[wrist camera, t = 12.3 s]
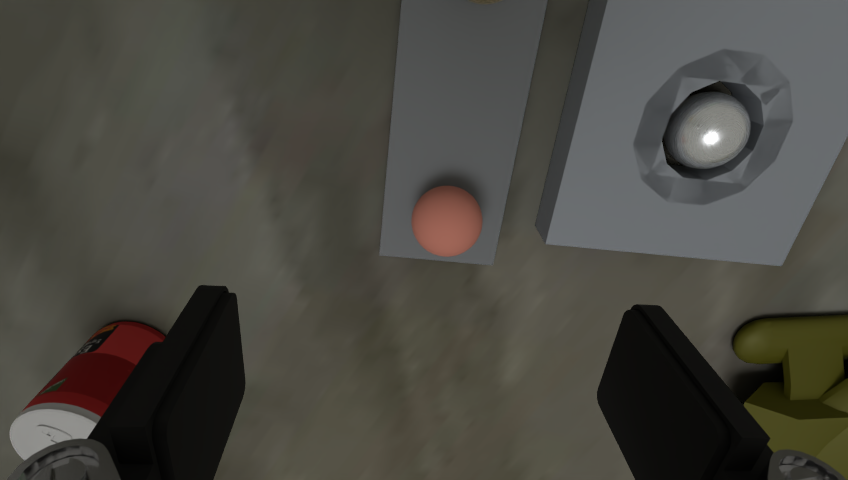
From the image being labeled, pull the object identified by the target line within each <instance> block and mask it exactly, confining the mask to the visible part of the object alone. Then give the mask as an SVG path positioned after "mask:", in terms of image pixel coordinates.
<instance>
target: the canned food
mask: <svg viewBox="0 0 848 480" xmlns="http://www.w3.org/2000/svg"><path fill="white" fill-rule="evenodd" d="M164 339H165V336H164V335H163V334H161V333H160V332H159V331H157V330H155V329H153V328H152V327H149V326H147V325H144V324H140V323H136V322H117V323H113V324H110V325H108V326H106V327H104V328H102V329H100V330H99V331H97V332H96V333H95V334H94V335H93V336H92V337H91V338H90V339H89V340H88V341H87V342H86V343H85V344H84V345H83V346H82V348H81V349H80V350H79V351H78V352H77V353H76V354H75V355H74V356H73V357H72V358H71V359H70V360H69V361H68V362H67V363H66V364H65V366H64V367H63V368H62V369H61V370H60V371H59V372H58V373H57V374H56V375H55V376H54V377H53V378H52V379H51V380H50V381H49V383H48V384H47V385H46V386H45V387H44V388H43V389H42V390H41V391H40V392H39V393H38V394H37V395H36V396H35V397H34V398H33V399H32V401H31V402H30V403H29V404H28V405H27V406H26V407H25V408H24V410H23V411H22V412H21V413H20V414H19V415H18V417H17V418H16V420H15V421H14V422H13V424H12V425H11V429H10V440H11V443H12V445H13V447H14V449H15V450H16V452H17V453H18V454H19V455H20V456H21V457H22V458H23V459H24V460H26V459H28V458H29V457H30V456H31V455H33V454H35V453H36V452H38V451H40V450H42V449H44V448H46V447H48V446H50V445H53V444H56V443H59V442H62V441H65V440H72V439H78V438H82V439H87V438H88V436H89V435H90V433H91V432H92V430H93V429H94V427H95V426H96V424H97V423H98V421H99V420H100V418H101V417H102V415H103V414H104V412H105V411H106V409H107V408H108V406H109V405H110V403H111V402H112V400H113V399H114V397H115V396H116V394H117V393H118V392H119V390H120V389H121V387H122V386H123V384H124V383H125V381H126V380H127V378H128V377H129V375H130V374H131V372H132V371H133V369H134V368H135V366H136V365H137V363H138V362H139V360H140V359H141V357H142V356H143V354H144V353H145V351H146V350H147V348H148V347H149V346H150V345H151V344H152V343H154V342H163V341H164Z"/></svg>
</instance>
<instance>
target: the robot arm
mask: <svg viewBox="0 0 848 480" xmlns="http://www.w3.org/2000/svg"><path fill="white" fill-rule="evenodd" d="M244 391H245V373H244V363H243V354H242V344H241V334H240V325H239V315H238V305H237V297H236V294H235V293H229V292H228V289H227V287H226V286H207V285H200V286H199V287H198V288H197V289H196V291H195V292H194V294H193V295H192V297H191V298H190V300H189V302H188V303H187V305H186V306H185V308H184V309H183V311H182V312H181V314H180V316H179V317H178V319H177V320H176V322H175V323H174V325H173V327H172V328H171V330H170V331H169V333H168V334H167V336H166V337H165V339H164V341H163V342H154V343H152V344H151V345H150V346H149V347H148V348H147V350H146V351H145V353H144V354H143V356H142V357H141V359H140V360H139V362H138V363H137V365H136V366H135V368H134V369H133V371H132V372H131V374H130V375H129V377H128V378H127V380H126V381H125V383H124V384H123V386H122V387H121V389H120V390H119V392H118V393H117V394H116V396H115V397H114V399H113V400H112V402H111V403H110V405H109V406H108V408H107V409H106V411H105V412H104V414H103V415H102V417H101V418H100V420H99V421H98V423H97V424H96V426H95V427H94V429H93V430H92V432H91V433H90V435H89V436H88V438H87V439H82V438H78V439H72V440H65V441H62V442H59V443H56V444H53V445H50V446H48V447H46V448H44V449H42V450H40V451H38V452H36V453H35V454H33V455H31V456H30V457H29V458H28V459H26V460H25V461H24V462H22V463H21V464H20V465H19V466H18V467H17V468H16V469H15V470H14V471H13V472H12V474H11V475H10V476H9V477H8V479H7V480H213V479H214V476H215V473H216V470H217V468H218V465H219V462H220V459H221V457H222V454H223V451H224V448H225V446H226V443H227V440H228V437H229V434H230V432H231V429H232V426H233V423H234V421H235V418H236V415H237V412H238V410H239V407H240V404H241V401H242V399H243V395H244ZM597 400H598V404H599V406H600V408H601V410H602V412H603V415H604V417H605V419H606V421H607V423H608V425H609V427H610V429H611V431H612V433H613V435H614V437H615V439H616V441H617V443H618V445H619V447H620V449H621V451H622V453H623V455H624V457H625V459H626V462H627V464H628V466H629V468H630V470H631V472H632V474H633V476H634V478H635V480H846V479H845V478H844V477H843V476H842V475H841V474H840V473H839V472H838V471H836V470H835V469H834V468H832V467H831V466H830V465H828V464H826V463H825V462H823V461H821V460H819V459H818V458H816V457H814V456H811V455H809V454H806V453H803V452H800V451H795V450H790V449H786V450H778V451H777V452H775V453H774V452H773V451H772V450H771V449H770V447H769V446H768V445H767V444H768V442H769V440H770V439H771V438H770V437H769V436H768V435H767V433H766V432H765V431H764V430H763V429H762V427H761V426H760V425H759V424H758V423H757V421H756V420H755V419H754V418H753V417H752V415H751V414H750V413H749V412H748V411H747V409H746V408H745V407H744V406H743V404H742V403H741V402H740V401H739V400H738V398H737V397H736V396H735V395H734V394H733V392H732V391H731V390H730V389H729V388H728V386H727V385H726V384H725V383H724V382H723V380H722V379H721V378H720V377H719V376H718V374H717V373H716V372H715V371H714V370H713V368H712V367H711V366H710V365H709V364H708V362H707V361H706V360H705V359H704V358H703V356H702V355H701V354H700V353H699V352H698V350H697V349H696V348H695V347H694V345H693V344H692V343H691V342H690V341H689V339H688V338H687V337H686V336H685V335H684V333H683V332H682V331H681V330H680V329H679V327H678V326H677V325H676V324H675V323H674V321H673V320H672V319H671V318H670V317H669V315H668V314H667V313H666V312H665V311H664V309H663V308H662V307H660V306H658V305H638V304H636V305H634V306H633V307H632V308H631V310H627V311H626V312H625V313H624V315H623V318H622V321H621V324H620V327H619V329H618V332H617V335H616V338H615V341H614V344H613V347H612V350H611V353H610V356H609V358H608V361H607V364H606V367H605V370H604V373H603V376H602V379H601V382H600V384H599V387H598V391H597Z"/></svg>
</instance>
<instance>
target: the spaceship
mask: <svg viewBox="0 0 848 480" xmlns="http://www.w3.org/2000/svg"><path fill="white" fill-rule="evenodd" d="M733 350H734V352H735V354H736V355H737V356H738V358H739V359H741V360H743V361H744V362H746V363H755V364H769V363H783V373H784V382H766V383H763V384H762V385H761V386H760V387H759V388H758V389H757V390H756V391H755V392H754V393H753V394H752V395H751V396H750V397H749V398H748V399H747V400H746V401H745V403H744V407H745V408H746V409H747V411H748V412H749V413H750V414H751V415H752V417H753V418H754V419H755V420H756V421H757V423H758V424H759V425H760V426H761V427H762V429H763V430H764V431H765V432H766V433H767V435H768V436H769V437H770V438H771V439H770V440H769V442H768V444H767V445H768V446H769V447H770V449H771V450H772V451H773V452H774V453H775V452H777V451H778V450H786V449H790V450H795V451H800V452H803V453H806V454H809V455H811V456H814V457H816V458H818V459H819V460H821V461H823V462H825V463H826V464H828V465H830V466H831V467H832V468H834V469H835V470H836V471H838V472H839V473H840V474H841V475H842V476H843V477H844V478H845V479H846V480H848V378H847V379H845V376H844V365H843V360H848V315H827V316H805V317H782V318H764V319H759V320H754V321H752V322H750V323H748V324H746V325H744V326H743V327H742V328H741V329H740V330H739V331H738V332H737V334H736V336H735V338H734V341H733Z"/></svg>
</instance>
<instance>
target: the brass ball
mask: <svg viewBox="0 0 848 480" xmlns="http://www.w3.org/2000/svg"><path fill="white" fill-rule="evenodd" d="M468 1H470V2H473V3H477V4H493V3H497V2H500V1H502V0H468Z"/></svg>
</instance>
